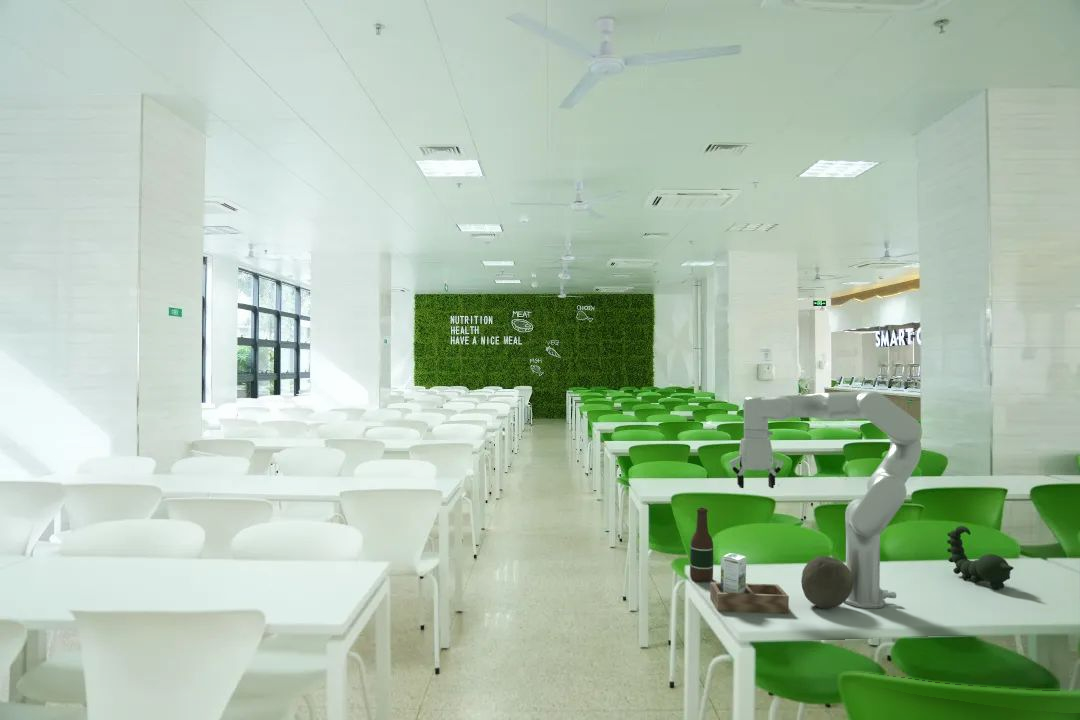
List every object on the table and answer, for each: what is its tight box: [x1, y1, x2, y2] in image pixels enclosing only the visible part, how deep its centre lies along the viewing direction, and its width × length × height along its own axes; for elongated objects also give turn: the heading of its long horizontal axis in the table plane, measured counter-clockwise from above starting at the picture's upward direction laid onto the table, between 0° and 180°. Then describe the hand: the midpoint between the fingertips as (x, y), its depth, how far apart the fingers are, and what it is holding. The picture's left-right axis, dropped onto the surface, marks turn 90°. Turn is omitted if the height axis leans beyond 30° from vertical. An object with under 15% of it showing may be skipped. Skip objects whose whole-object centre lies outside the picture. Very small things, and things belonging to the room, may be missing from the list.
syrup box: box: [720, 552, 747, 593], centre depth 205 cm, size 6×6×14 cm
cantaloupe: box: [800, 555, 853, 610], centre depth 204 cm, size 14×14×15 cm
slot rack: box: [709, 581, 790, 614], centre depth 205 cm, size 21×11×5 cm, turn 87°
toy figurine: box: [946, 525, 1015, 591], centre depth 230 cm, size 9×19×25 cm
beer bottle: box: [689, 507, 714, 583], centre depth 230 cm, size 8×8×24 cm
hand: (756, 487), depth 220 cm, fingers open, 9 cm apart
